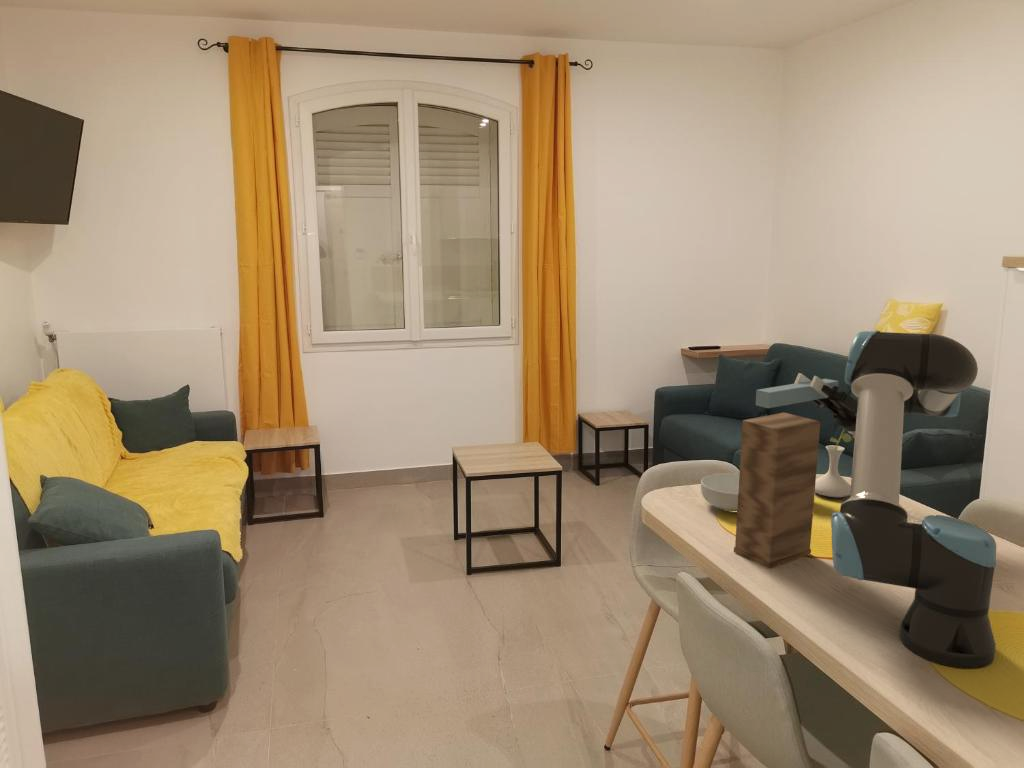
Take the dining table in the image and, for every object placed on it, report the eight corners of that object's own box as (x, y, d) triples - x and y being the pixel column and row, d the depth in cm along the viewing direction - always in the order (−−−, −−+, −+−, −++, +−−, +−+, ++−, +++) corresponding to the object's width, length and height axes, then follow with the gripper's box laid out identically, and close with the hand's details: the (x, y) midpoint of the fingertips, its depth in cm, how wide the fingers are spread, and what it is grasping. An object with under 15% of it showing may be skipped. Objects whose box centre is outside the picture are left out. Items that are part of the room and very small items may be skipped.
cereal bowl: (697, 515, 203) (699, 489, 202) (701, 494, 219) (702, 470, 218) (764, 521, 199) (766, 496, 197) (763, 500, 214) (765, 476, 213)
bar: (837, 395, 180) (838, 381, 179) (768, 408, 167) (769, 392, 166) (824, 393, 182) (825, 378, 182) (755, 405, 170) (756, 389, 169)
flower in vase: (827, 502, 212) (834, 415, 207) (801, 489, 223) (808, 405, 218) (866, 498, 216) (875, 412, 211) (839, 485, 226) (847, 403, 221)
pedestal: (810, 554, 179) (821, 421, 172) (769, 568, 171) (779, 430, 165) (774, 539, 187) (783, 412, 181) (733, 552, 180) (741, 420, 174)
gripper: (881, 439, 181) (830, 401, 168) (820, 424, 194) (769, 388, 182) (893, 411, 181) (844, 370, 168) (831, 398, 195) (782, 359, 182)
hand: (805, 379), depth 175 cm, fingers closed on bar, 3 cm apart
